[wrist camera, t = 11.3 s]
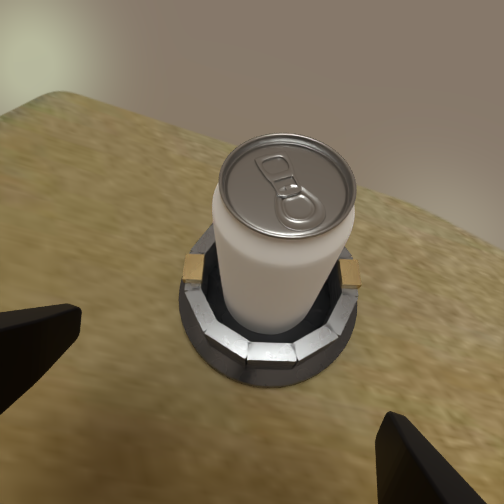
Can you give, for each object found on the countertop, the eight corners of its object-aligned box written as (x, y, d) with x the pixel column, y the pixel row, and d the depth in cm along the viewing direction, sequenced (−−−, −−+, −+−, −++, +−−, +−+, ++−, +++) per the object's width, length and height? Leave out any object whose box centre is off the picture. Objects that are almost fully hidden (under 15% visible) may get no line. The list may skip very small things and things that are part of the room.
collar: (364, 391, 21) (393, 381, 17) (168, 385, 21) (151, 373, 17) (342, 227, 28) (359, 193, 24) (192, 222, 28) (183, 186, 24)
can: (241, 350, 21) (239, 271, 11) (211, 269, 24) (188, 145, 14) (327, 317, 23) (399, 218, 12) (289, 243, 26) (322, 113, 15)
